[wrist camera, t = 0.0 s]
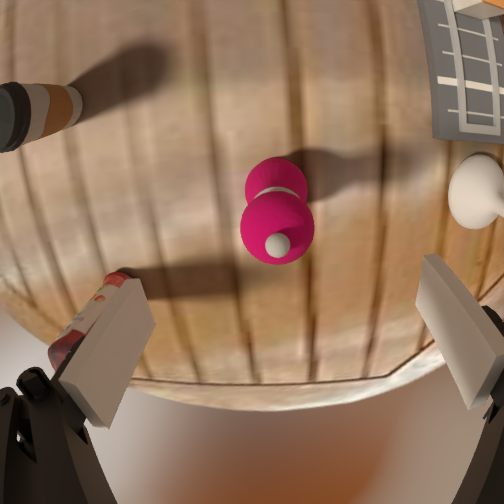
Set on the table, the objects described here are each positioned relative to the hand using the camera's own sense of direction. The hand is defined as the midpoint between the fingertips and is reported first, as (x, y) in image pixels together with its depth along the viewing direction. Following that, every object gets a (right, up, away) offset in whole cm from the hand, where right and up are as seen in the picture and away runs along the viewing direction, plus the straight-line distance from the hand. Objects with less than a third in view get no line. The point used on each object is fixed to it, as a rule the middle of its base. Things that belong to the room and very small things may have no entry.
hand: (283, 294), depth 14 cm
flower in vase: (+31, +12, +24) cm, 40 cm away
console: (+28, +29, +15) cm, 43 cm away
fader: (+27, +35, +10) cm, 45 cm away
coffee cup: (-28, +23, +22) cm, 42 cm away
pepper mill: (+2, +11, +26) cm, 28 cm away
